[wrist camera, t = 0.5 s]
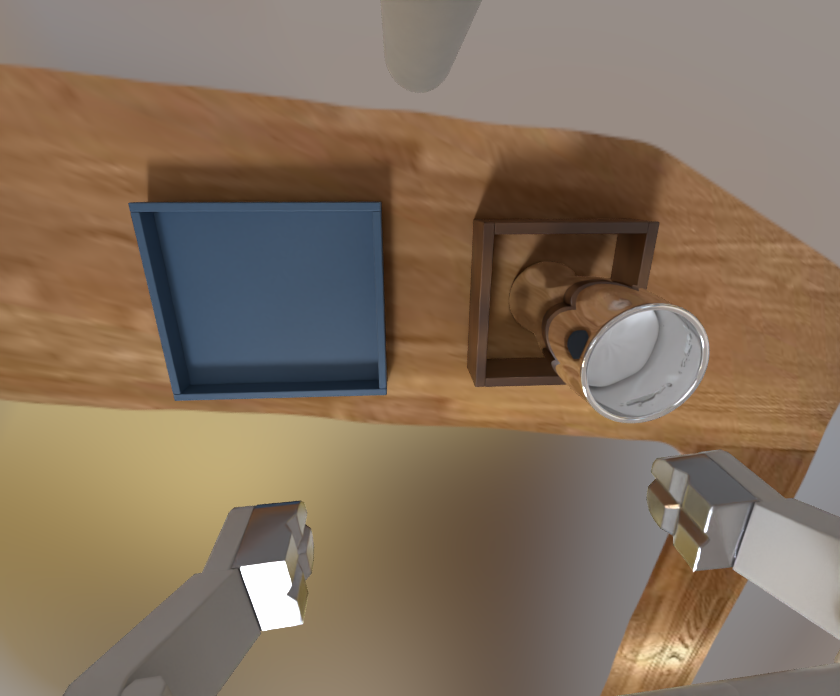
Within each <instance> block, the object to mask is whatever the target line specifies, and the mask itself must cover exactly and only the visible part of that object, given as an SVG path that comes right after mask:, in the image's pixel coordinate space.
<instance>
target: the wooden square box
mask: <svg viewBox="0 0 840 696" xmlns="http://www.w3.org/2000/svg"><path fill="white" fill-rule="evenodd" d="M658 228H659V222H657V221H647V220H638V219H484V220H483V219H474V220H473V243H472V266H471V289H470V312H469V335H468V358H467V368H468V370H469V373H470V375H471V377H472V380H473V382H474V385H475V387H484V386H485V387H494V386H532V385H567V384H566V383H565V382H564V381H563V380H562V379H561V378H560V377H559V376H558V375H557V374H556V372H555V371H554V370H553V369H552V367H551V366H550V365H549V363H548V362H547V360H546V358H512V359H487V343H488V327H489V310H490V294H491V277H492V261H493V245H494V234H618V237H617V243H616V250H615V256H614V262H613V268H612V274H611V278H612V279H617V280H621V281H624V282H627V283H630V284H634V285H636V286H639V287H641V288H643V289H645V290H646V289H647V284H648V279H649V274H650V269H651V264H652V259H653V253H654V248H655V243H656V238H657V233H658Z"/></svg>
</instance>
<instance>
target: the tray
mask: <svg viewBox="0 0 840 696" xmlns="http://www.w3.org/2000/svg"><path fill="white" fill-rule="evenodd" d="M128 204H129V208H130V211H131V217H132V221H133V225H134V230H135V234H136V238H137V242H138V247H139V251H140V255H141V259H142V264H143V268H144V272H145V276H146V280H147V285H148V289H149V293H150V297H151V302H152V306H153V310H154V314H155V319H156V323H157V327H158V331H159V336H160V340H161V344H162V348H163V353H164V357H165V361H166V365H167V370H168V374H169V378H170V382H171V386H172V391H173V394H174V399H175V401H180V400H216V399H253V398H290V397H326V396H363V395H386V394H387V362H386V331H385V299H384V267H383V235H382V203H381V202H133V203H128Z"/></svg>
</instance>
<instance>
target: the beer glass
mask: <svg viewBox="0 0 840 696" xmlns="http://www.w3.org/2000/svg"><path fill="white" fill-rule="evenodd" d="M509 307H510V311H511V314H512V316H513V317H514V319H515V320H516V321H517V323H518V324H520V325H521V326H522V327H524V328H525V329H527V330H529V331H531V332H534V334H535V337H536V339H537V342H538V344H539V346H540V349H541V351H542V353H543V354H544V356H545V358H546V360H547V362H548V363H549V365H550V366H551V367H552V369H553V370H554V371H555V372H556V374H557V375H558V376H559V377H560V378H561V379H562V380H563V381H564V382H565V383H566V384H567V385H568V386H569V387H570V388H571V389H572V390H573V391H574V392H575V393H577V394H578V395H579V396H580V397H581V398H582V399H584V400H585V401H586V402H587V403H589V404H590V405H591V406H592V407H593V409H594V410H596V411H597V412H598V413H599V414H601V415H602V416H604V417H606V418H608V419H610V420H613V421H617V422H622V423H641V422H647V421H651V420H654V419H657V418H660V417H662V416H664V415H666V414H668V413H670V412H671V411H673V410H675V409H676V408H677V407H679V406H680V405H681V404H683V403H684V402H685V401H686V400H687V399H688V398H689V397H690V396H691V395H692V393H693V392H694V391H695V390H696V388H697V387H698V385H699V384H700V382H701V380H702V378H703V376H704V374H705V371H706V369H707V365H708V361H709V341H708V337H707V334H706V331H705V329H704V327H703V325H702V324H701V322H700V321H699V320H698V319H697V318H696V317H695V316H694V315H693V314H692V313H690V312H689V311H687V310H685V309H683V308H681V307H679V306H676V305H674V304H672V303H671V302H669V301H667V300H665V299H663V298H662V297H660V296H658V295H656V294H654V293H652V292H650V291H648V290H645V289H643V288H641V287H639V286H636V285H634V284H630V283H627V282H624V281H621V280H617V279H612V278H605V277H596V276H577V275H576V274H575V273H574V272H573V271H572V270H571V269H570V268H569V267H567V266H566V265H564V264H562V263H559V262H554V261H544V262H539V263H536V264H533V265H531V266H529V267H528V268H526V269H525V270H524V271H522V272H521V273H520V274H519V276H518V277H517V278H516V280H515V281H514V283H513V285H512V287H511V290H510V294H509Z"/></svg>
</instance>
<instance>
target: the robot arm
mask: <svg viewBox="0 0 840 696" xmlns="http://www.w3.org/2000/svg"><path fill="white" fill-rule="evenodd" d="M651 473H652V474H653V475H654V477H655V478H656V479H655V480H654V481H653V482H652V483H651V484H650V485H649V486H648V491H647V503H648V508H649V511H650V513H651V515H652V517H653V519H654V520H655V522H656V523H657V525H658V526H659V527H660V528H661V529H662V530H664V531H666V532H668V533H669V534H671V535H673V545H674V547H675V548H676V549H677V550H678V552H679V553H680V554H681V555H682V557H683V558H684V559H685V560H686V562H687V563H688V564H689V566H690V567H691V568H692V569H693V571H700V570H709V569H719V568H728V567H733V570H735V571H736V572H738V573H739V574H741V575H742V576H744V577H745V578H747V579H748V580H750V581H751V582H753V583H754V584H756V585H757V586H759V587H761V588H762V589H763V590H765V591H766V592H768V593H770V594H771V595H773V596H774V597H776V598H777V599H778V600H780V601H781V602H783V603H785V604H786V605H787V606H789V607H790V608H792V609H794V610H795V611H797V612H798V613H800V614H801V615H803V616H804V617H806V618H807V619H809V620H810V621H812V622H813V623H815V624H816V625H818V626H819V627H821V628H822V629H824V630H825V631H827V632H828V633H830V634H831V635H833V636H834V637H836V638H837V639H839V640H840V517H838V516H836V515H833V514H831V513H829V512H826V511H824V510H821V509H819V508H816V507H814V506H811V505H809V504H806V503H804V502H801V501H798V500H796V499H794V498H789V499H785V498H784V497H783V496H782V495H780V494H779V493H778V492H777V491H775V490H774V489H773V488H772V487H770V486H769V485H768V484H767V483H765V482H764V481H763V480H762V479H760V478H759V477H758V476H757V475H756V474H754V473H753V472H752V471H751V470H749V469H748V468H747V467H746V466H744V465H743V464H742V463H741V462H739V461H738V460H737V459H736V458H735V457H733V456H732V455H731V454H730V453H728V452H726V451H723V450H713V451H706V452H699V453H693V454H685V455H678V456H670V457H661V458H657V459H656V460H655V461H654V463H653V465H652V470H651ZM306 518H307V511H306V507H305V504H304V502H303V501H293V502H282V503H272V504H262V505H257V506H245V507H235V508H233V509H232V510H231V511H230V512H229V513H228V516H227V518H226V520H225V522H224V525H223V527H222V529H221V531H220V534H219V536H218V538H217V540H216V542H215V545H214V547H213V550H212V552H211V554H210V556H209V558H208V561H207V563H206V565H205V567H204V569H203V572H202V573H198V574H194V575H193V576H192V577H191V578H190V579H188V580H187V581H186V582H185V583H184V584H183V585H182V586H180V587H179V588H178V589H177V590H176V591H175V592H174V593H173V594H171V595H170V596H169V597H168V598H167V599H166V600H165V601H163V602H162V603H161V604H160V605H159V606H158V607H157V608H156V609H154V610H153V611H152V612H151V613H150V614H149V615H148V616H147V617H146V618H144V619H143V620H142V621H141V622H140V623H139V624H138V625H136V626H135V627H134V628H133V629H132V630H131V631H130V632H129V633H127V634H126V635H125V636H124V637H123V638H122V639H121V640H120V641H118V642H117V643H116V644H115V645H114V646H113V647H112V648H111V649H109V650H108V651H107V652H106V653H105V654H104V655H103V656H102V657H100V658H99V659H98V660H97V661H96V662H95V663H94V664H92V665H91V666H90V667H89V668H88V669H87V670H86V671H85V672H84V673H82V674H81V675H80V676H79V677H78V678H77V679H76V680H74V681H73V682H72V683H71V684H70V685H69V686H68V688H67V689H66V691H65V693H64V694H63V696H217V694H218V693H219V691H220V690H221V689H222V687H223V686H224V684H225V683H226V682H227V680H228V679H229V677H230V676H231V675H232V673H233V672H234V670H235V669H236V668H237V666H238V665H239V663H240V662H241V661H242V659H243V658H244V656H245V655H246V653H247V652H248V651H249V649H250V648H251V647H252V645H253V644H254V643H255V641H256V640H257V638H258V637H259V636H260V634H261V632H260V631H262V630H268V629H274V628H280V627H286V626H292V625H299V624H303V620H304V615H305V609H306V603H307V597H308V589H307V585H306V582H305V580H306V579H307V578H308V577H309V576H310V575H311V573H312V567H313V561H314V560H313V559H314V543H313V535H312V531H311V528H310V527H308V526H307V525H306V524H305V522H306ZM619 696H840V650H839V652H838V654H837V656H836V657H835V662H834V664H827V665H820V666H814V667H807V668H801V669H794V670H787V671H781V672H774V673H767V674H760V675H754V676H747V677H740V678H733V679H727V680H720V681H713V682H707V683H700V684H693V685H686V686H680V687H673V688H666V689H660V690H653V691H646V692H639V693H633V694H626V695H619Z"/></svg>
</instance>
